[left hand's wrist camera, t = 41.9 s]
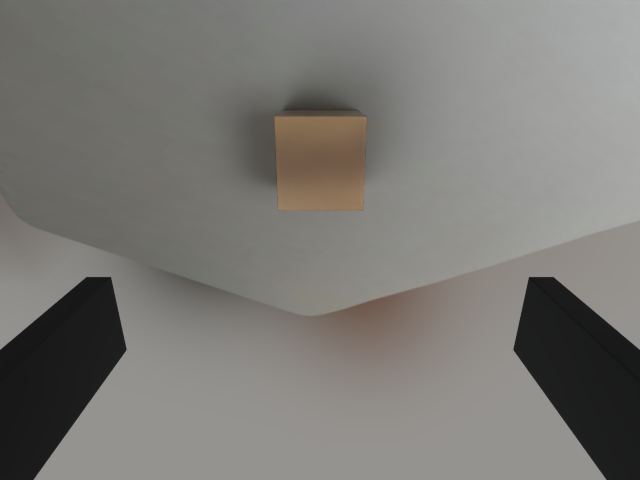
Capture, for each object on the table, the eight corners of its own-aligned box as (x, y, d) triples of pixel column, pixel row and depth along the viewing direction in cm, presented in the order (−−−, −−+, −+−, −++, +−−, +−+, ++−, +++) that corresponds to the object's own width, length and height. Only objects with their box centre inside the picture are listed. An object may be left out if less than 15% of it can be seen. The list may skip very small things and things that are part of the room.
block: (355, 189, 49) (363, 210, 40) (285, 188, 49) (277, 210, 40) (358, 110, 45) (367, 116, 37) (282, 110, 45) (274, 116, 37)
